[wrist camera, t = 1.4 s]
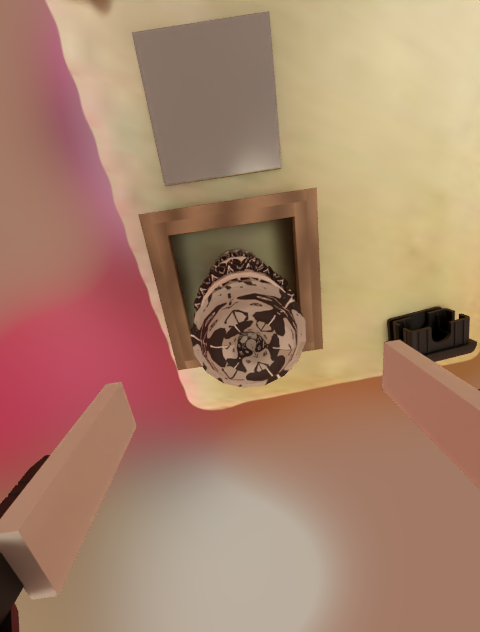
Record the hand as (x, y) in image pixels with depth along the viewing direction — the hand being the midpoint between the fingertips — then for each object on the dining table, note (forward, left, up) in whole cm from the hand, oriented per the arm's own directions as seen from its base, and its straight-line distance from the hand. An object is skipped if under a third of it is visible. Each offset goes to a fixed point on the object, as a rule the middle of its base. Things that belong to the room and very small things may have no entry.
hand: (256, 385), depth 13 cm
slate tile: (0, -22, -29) cm, 36 cm away
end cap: (-29, +14, -29) cm, 44 cm away
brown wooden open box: (0, 0, -29) cm, 29 cm away
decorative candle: (0, 0, -29) cm, 29 cm away
